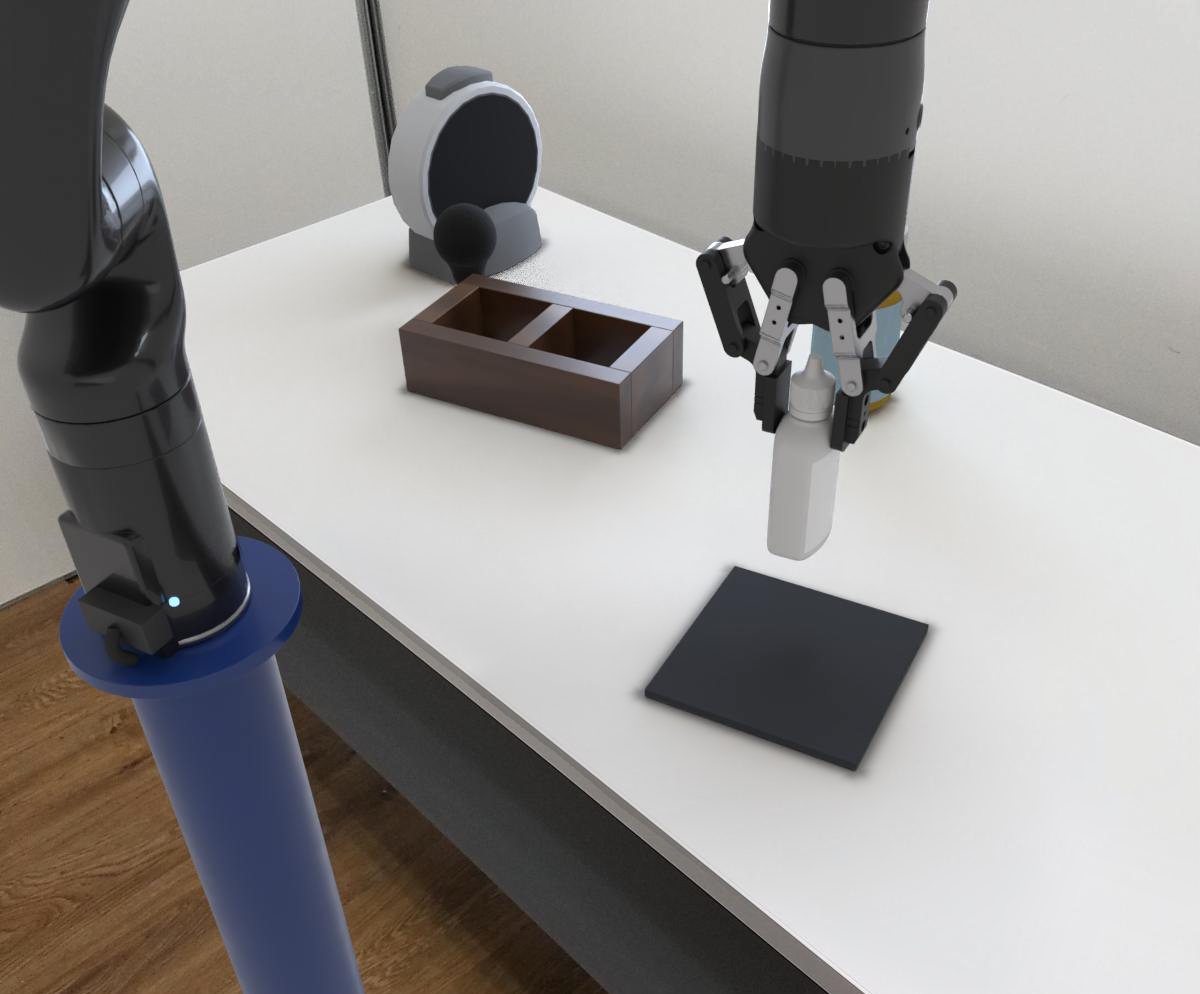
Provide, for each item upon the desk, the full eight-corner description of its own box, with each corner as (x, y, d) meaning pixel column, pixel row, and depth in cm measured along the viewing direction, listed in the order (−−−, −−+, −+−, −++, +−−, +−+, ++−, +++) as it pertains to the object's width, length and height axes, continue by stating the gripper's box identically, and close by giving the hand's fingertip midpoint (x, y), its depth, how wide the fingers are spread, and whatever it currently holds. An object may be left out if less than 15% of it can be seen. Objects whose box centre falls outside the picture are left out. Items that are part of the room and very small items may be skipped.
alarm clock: (449, 295, 123) (427, 105, 111) (383, 266, 128) (356, 81, 117) (566, 241, 132) (557, 59, 120) (500, 215, 137) (485, 39, 125)
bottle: (848, 366, 110) (867, 200, 101) (908, 398, 106) (933, 228, 96) (789, 392, 107) (803, 224, 98) (848, 427, 103) (868, 254, 93)
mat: (855, 771, 74) (856, 764, 74) (644, 696, 80) (644, 689, 79) (927, 630, 84) (929, 624, 83) (734, 571, 89) (734, 565, 89)
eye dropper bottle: (859, 535, 75) (882, 356, 67) (788, 571, 73) (803, 389, 65) (810, 501, 78) (826, 325, 70) (739, 534, 75) (748, 355, 68)
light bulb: (456, 289, 124) (445, 190, 118) (511, 296, 123) (503, 196, 116) (431, 316, 120) (419, 215, 113) (489, 324, 118) (479, 222, 112)
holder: (620, 449, 101) (619, 384, 97) (407, 390, 109) (397, 328, 106) (682, 383, 109) (683, 320, 105) (478, 333, 117) (472, 272, 113)
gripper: (667, 129, 60) (665, 437, 71) (962, 177, 54) (910, 503, 65) (731, 81, 65) (720, 376, 76) (1008, 120, 59) (952, 432, 70)
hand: (808, 433), depth 70 cm, fingers closed on eye dropper bottle, 3 cm apart
